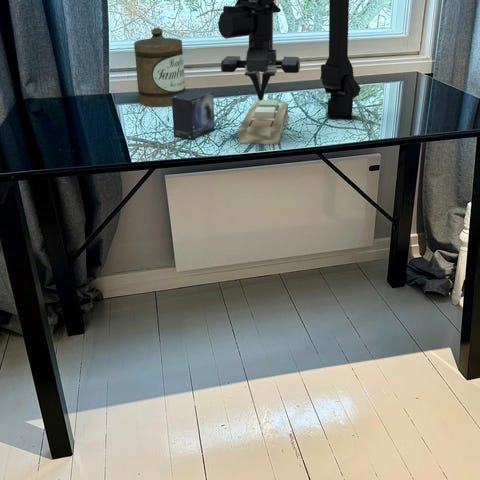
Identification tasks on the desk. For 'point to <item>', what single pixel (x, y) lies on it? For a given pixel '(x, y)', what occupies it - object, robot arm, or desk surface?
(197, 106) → the small box
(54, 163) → the desk surface
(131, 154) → the desk surface
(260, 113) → the key ivory
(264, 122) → the key terracotta
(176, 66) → the wooden container
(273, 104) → the key sage
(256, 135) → the keypad housing
